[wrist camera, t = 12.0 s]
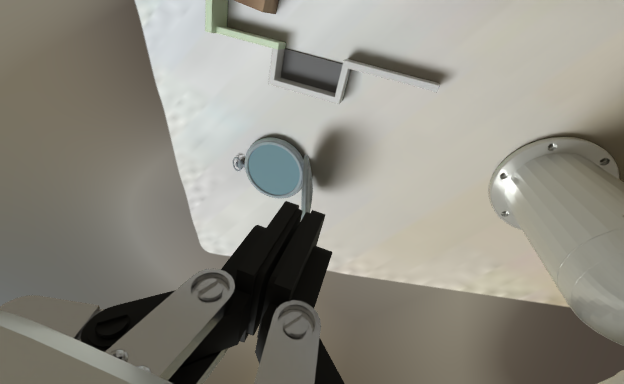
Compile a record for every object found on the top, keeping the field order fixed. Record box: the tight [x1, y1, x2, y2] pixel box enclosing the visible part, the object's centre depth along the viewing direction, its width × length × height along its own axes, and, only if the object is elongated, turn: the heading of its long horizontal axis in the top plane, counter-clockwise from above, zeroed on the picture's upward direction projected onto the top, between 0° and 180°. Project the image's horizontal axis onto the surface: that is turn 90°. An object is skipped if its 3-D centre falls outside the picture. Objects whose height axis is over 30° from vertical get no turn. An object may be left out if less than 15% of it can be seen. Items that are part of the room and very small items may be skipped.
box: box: [205, 0, 440, 104], centre depth 31 cm, size 28×20×4 cm
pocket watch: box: [233, 137, 313, 218], centre depth 40 cm, size 10×11×15 cm
